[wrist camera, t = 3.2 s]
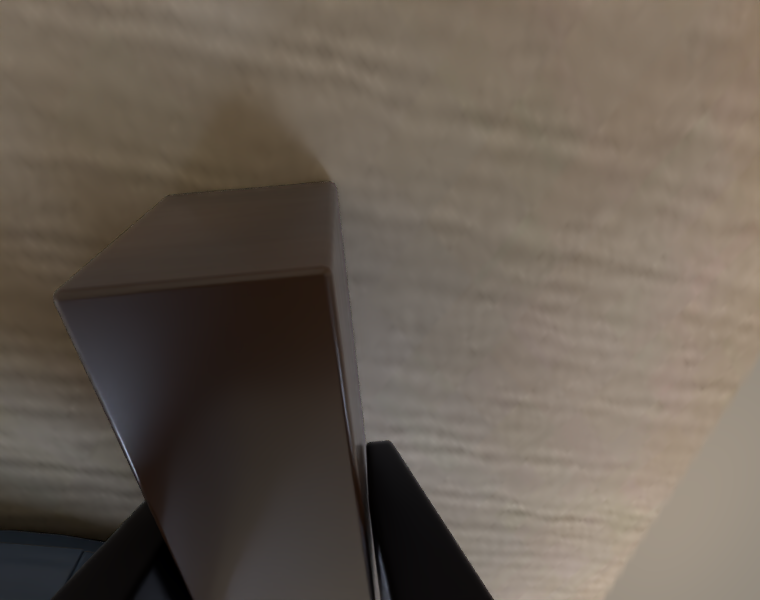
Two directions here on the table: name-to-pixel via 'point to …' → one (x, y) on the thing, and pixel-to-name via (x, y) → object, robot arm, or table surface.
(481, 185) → the table surface
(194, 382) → the dark brown block
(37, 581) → the bowl
